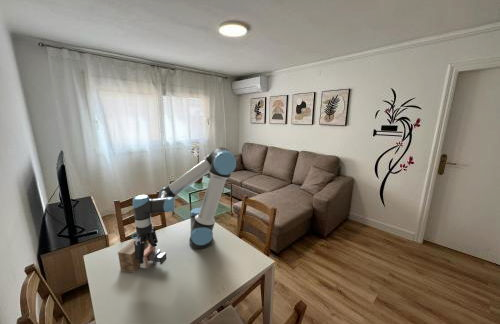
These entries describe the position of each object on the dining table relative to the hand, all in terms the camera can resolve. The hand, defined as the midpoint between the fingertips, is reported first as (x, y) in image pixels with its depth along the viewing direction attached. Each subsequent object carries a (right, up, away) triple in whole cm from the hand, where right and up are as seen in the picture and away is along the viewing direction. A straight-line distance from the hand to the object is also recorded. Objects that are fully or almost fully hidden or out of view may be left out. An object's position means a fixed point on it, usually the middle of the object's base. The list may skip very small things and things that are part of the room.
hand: (148, 261), depth 110 cm
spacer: (0, 0, 0) cm, 0 cm away
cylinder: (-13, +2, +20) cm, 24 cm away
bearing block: (-8, -2, +2) cm, 9 cm away
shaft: (+1, +1, 0) cm, 1 cm away
